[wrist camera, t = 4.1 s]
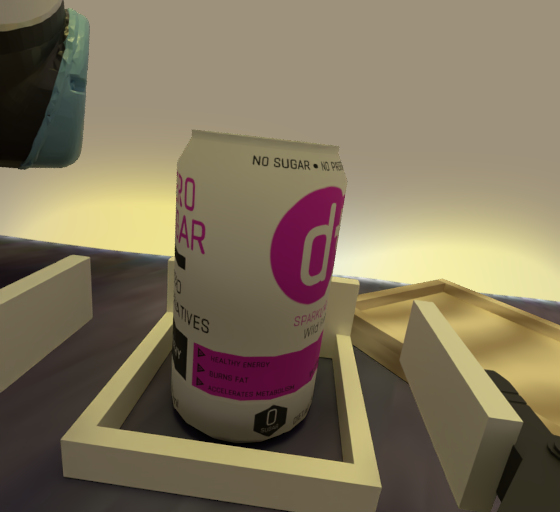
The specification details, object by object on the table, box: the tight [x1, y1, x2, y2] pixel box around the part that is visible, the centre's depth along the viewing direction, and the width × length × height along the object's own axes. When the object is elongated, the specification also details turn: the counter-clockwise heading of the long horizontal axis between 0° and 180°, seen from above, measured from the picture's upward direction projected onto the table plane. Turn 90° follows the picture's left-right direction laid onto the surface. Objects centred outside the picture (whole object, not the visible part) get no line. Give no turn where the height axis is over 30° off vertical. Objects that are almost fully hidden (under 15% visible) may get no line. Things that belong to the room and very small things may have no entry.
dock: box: [61, 256, 382, 512], centre depth 22 cm, size 14×14×6 cm
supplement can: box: [171, 130, 347, 443], centre depth 20 cm, size 8×8×15 cm
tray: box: [350, 279, 560, 436], centre depth 30 cm, size 18×16×2 cm
